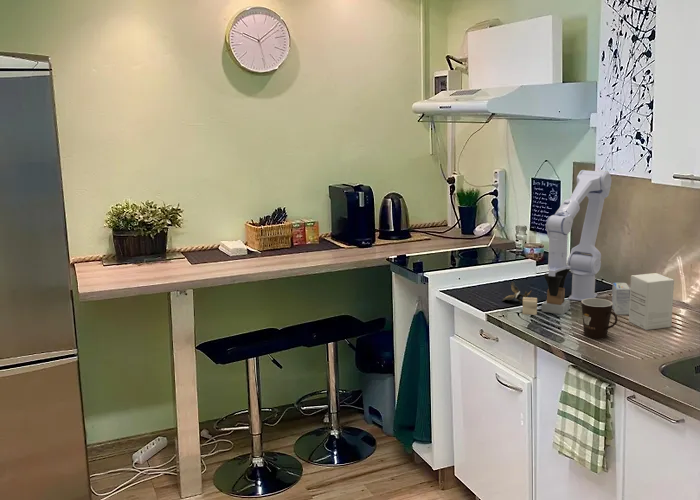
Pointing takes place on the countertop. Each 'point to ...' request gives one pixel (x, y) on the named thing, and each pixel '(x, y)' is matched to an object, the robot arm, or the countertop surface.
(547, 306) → the slate block
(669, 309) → the supplement box
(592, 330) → the coffee mug
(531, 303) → the birch cube
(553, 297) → the walnut cube
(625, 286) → the medicine box
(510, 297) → the eagle figurine
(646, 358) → the countertop surface
